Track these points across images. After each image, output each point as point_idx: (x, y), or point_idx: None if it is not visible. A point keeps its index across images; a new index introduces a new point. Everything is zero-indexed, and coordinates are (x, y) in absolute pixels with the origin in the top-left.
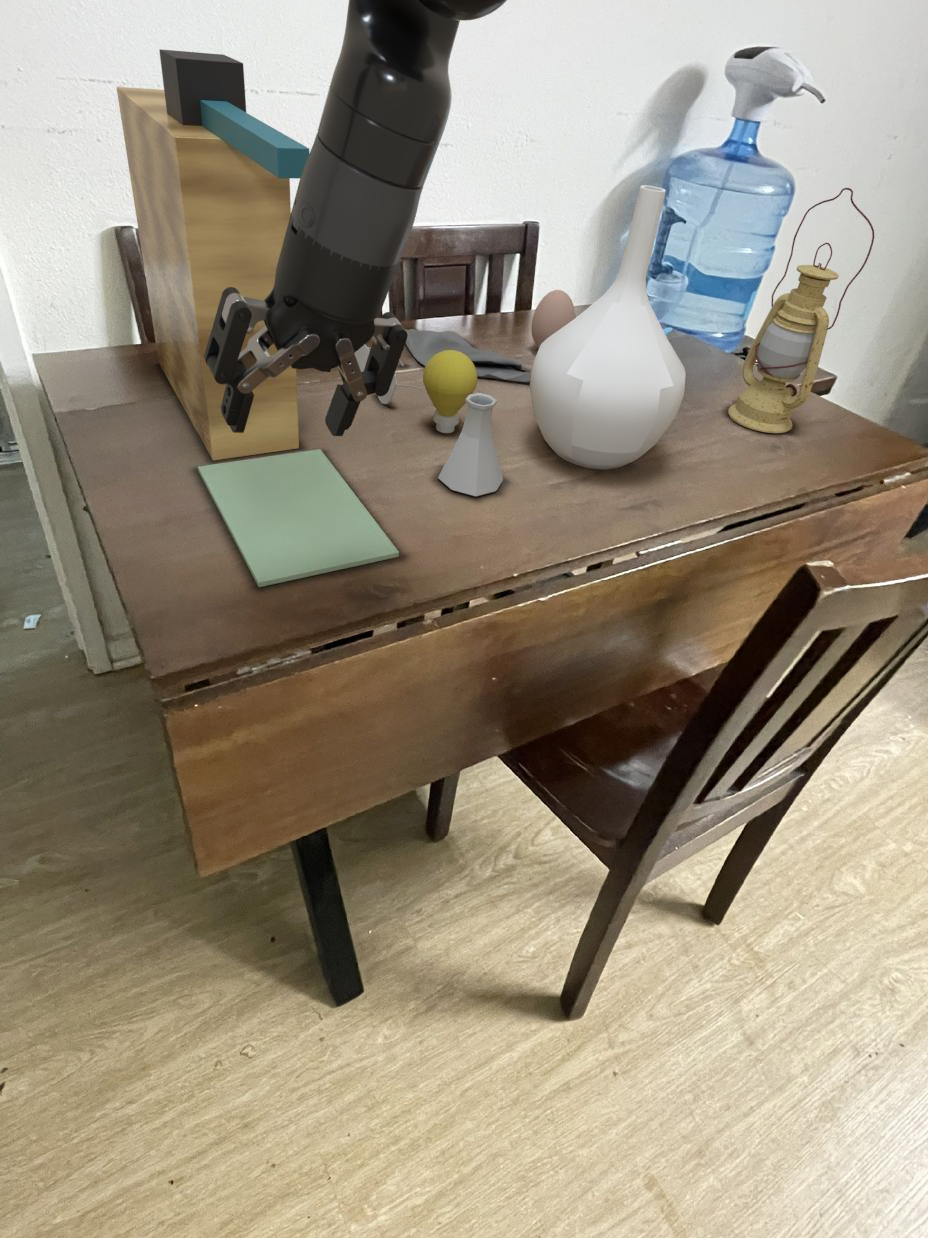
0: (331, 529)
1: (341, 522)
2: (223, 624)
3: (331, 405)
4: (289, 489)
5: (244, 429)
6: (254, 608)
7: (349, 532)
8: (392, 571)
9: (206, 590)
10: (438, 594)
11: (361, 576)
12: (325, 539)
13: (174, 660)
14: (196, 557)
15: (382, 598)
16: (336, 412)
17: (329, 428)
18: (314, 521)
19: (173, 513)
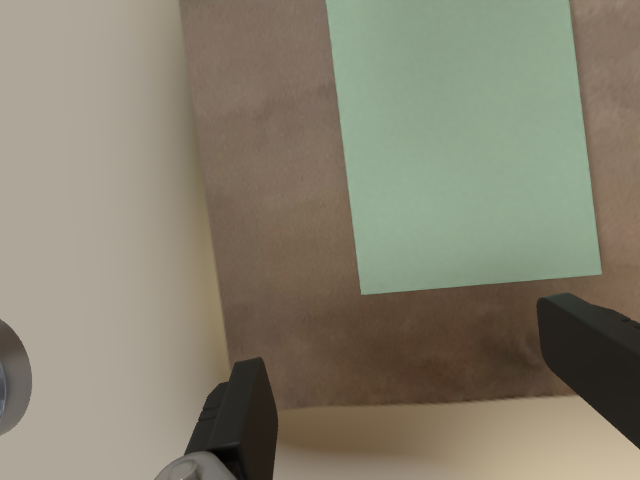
0: (500, 186)
1: (524, 167)
2: (309, 352)
3: (577, 328)
4: (458, 49)
5: (277, 430)
6: (349, 333)
7: (529, 200)
8: None
9: (298, 280)
10: None
11: (515, 306)
12: (482, 212)
13: None
14: (295, 206)
15: (532, 366)
16: (582, 367)
17: (540, 329)
18: (477, 157)
19: (277, 90)
